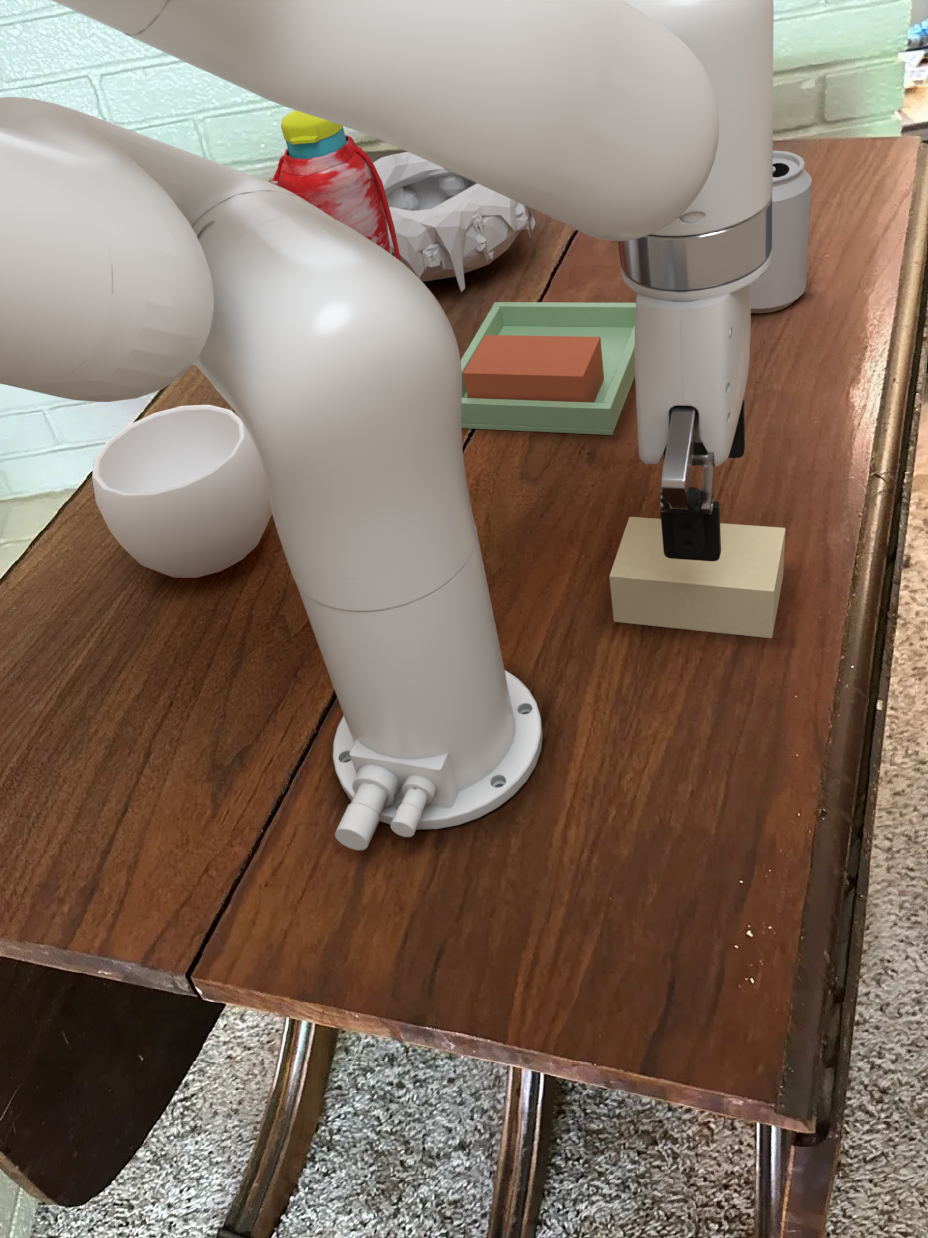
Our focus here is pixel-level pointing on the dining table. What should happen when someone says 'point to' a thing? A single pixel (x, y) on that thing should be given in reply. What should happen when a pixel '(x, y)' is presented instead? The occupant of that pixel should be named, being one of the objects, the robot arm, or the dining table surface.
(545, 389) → the pad terracotta
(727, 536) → the pad beige
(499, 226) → the bowl
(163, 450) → the cup
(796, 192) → the can
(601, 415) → the frame
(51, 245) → the robot arm
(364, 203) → the water bottle
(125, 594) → the dining table surface
